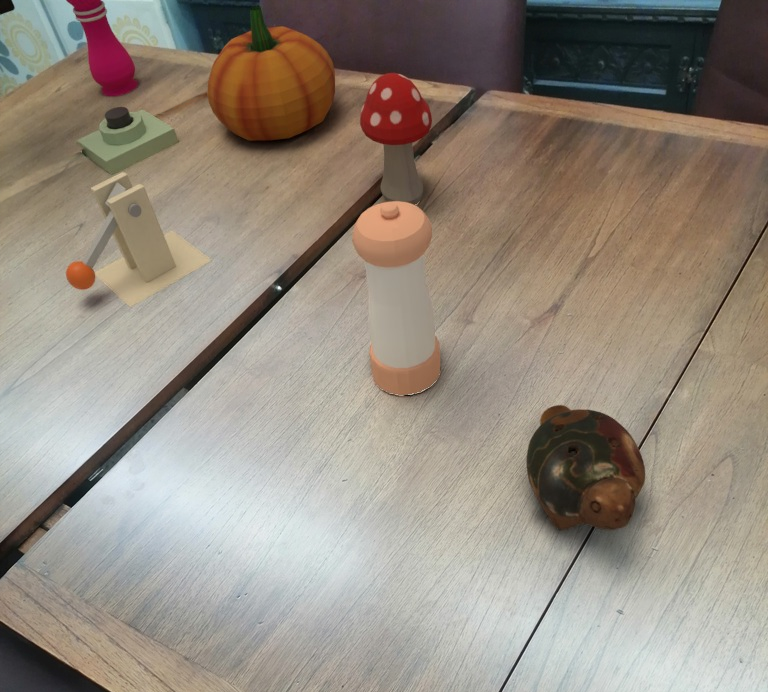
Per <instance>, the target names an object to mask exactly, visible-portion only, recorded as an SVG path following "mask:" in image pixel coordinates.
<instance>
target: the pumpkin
mask: <svg viewBox="0 0 768 692" xmlns="http://www.w3.org/2000/svg"><path fill="white" fill-rule="evenodd" d="M249 15H250V17H249V18H250V30H249V31H246V32H245V33H242V34H240V35H237V36H235V37H233V38H231V39H230V40H229V41H228V42H227V43H226V44H225V45H224V47H223V48H222V50H221V51H220V52H219V54H218V55H217V57H216V58H215V60H214V61H213V64H212V67H211V69H210V72H209V73H210V74H209V76H208V80H207V90H206V91H207V92H206V94H207V99H208V100H207V101H208V104H209V106H210V108H211V111H212V113H213V115H214V116H215V117H216V118H217V120H218V121H219V122H220V123H221V124H223V125H224V127H226V128H227V129H228V130H229V131H230V132H231V133H233V134H234V135H236V136H238V137H241V138H242V139H244V140H247V141H250V142H251V141H274V140H284V139H290V138H293V137H295V136H298V135H301V134H302V133H304V132H306V131H309V130H310V129H312V128H314V127H315V126H317V125H319V124H321V123H322V122H324V120H325V118H326V116H327V115H328V112H329V110H330V108H331V107H332V104H333V102H334V99H335V95H336V70H335V67H334V63H333V60H332V58H331V56H330V54H329V53H328V51H327V50H326V49H325V48H324V47H323V46H322V45H321V43H319V42H317V41H316V40H314V39H313V38H311V36H308V35H306V34H304V33H302V32H300V31H297V30H295V29H292V28H289V27H286V26H285V25H284V26H283V25H280V26H272V27H268V26H267V24H266V23H265V19H264V15H263V11H262V7H261V6H260V5H254V6H252V7H250V8H249Z"/></svg>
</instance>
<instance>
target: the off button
mask: <svg viewBox="0 0 768 692" xmlns="http://www.w3.org/2000/svg"><path fill="white" fill-rule="evenodd" d="M129 112H130V110H129V108H127V107H125V106H117V107H113V108H111V109H109V110H106V112H105V113H104V119H105V118H106V121H107V123H108V125H109V128H110V129H121V128H125V127H127V126H129V125H130V124H131V123H132V119H131V116H130V114H129Z"/></svg>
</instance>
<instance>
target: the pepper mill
mask: <svg viewBox="0 0 768 692" xmlns="http://www.w3.org/2000/svg"><path fill="white" fill-rule="evenodd" d="M65 1H66V2H67V3H68V4H69V5H71V6H72V7H73V8H72V12H73V14H74V16H75V20H77V21H78V22H80V23H79V24H80V25H81V27H82V29H83V32H84V35H85V38H86V44H87V58H88V61H87V62H88V67H89V71H90V74H91V77H92V79H93V81H94V82H96V83H97V84H98V85H99V86H101V87H102V88H101V93H102V95H104V96H107V97H119V96H123V95H126V94H128V93H130V92H132V91H133V90H135V89H136V88H137V87H138V84H139V82H138V80H137V79H135V78H134V77H135V73H136V66H135V62H134V61H133V58H132V57H131V55H130V54H129V52H128V51H127V49H126V48H125V47H124V45H123V44H122V43H121V42H120V40H119V39H118V38H117V36H116V35H115V33H114V32H113V29H112V28H111V27H112V26H111V25H110V23H109V20H108V16H107V13H108V9H107V8H106V6H105V5H106V4H105V2H104V1H103V0H65Z"/></svg>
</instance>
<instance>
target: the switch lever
mask: <svg viewBox="0 0 768 692" xmlns="http://www.w3.org/2000/svg"><path fill="white" fill-rule="evenodd" d="M126 190H127V189H126V188H125V187H123V186H122V185H120V184H119V183H116V185H115V187H114V188H113V190H112V192H111V194H110V195H109V197H108V199H107V200H109V199H111V198H113V197H115V196H117V195H119V194H120V193H122V192H124V191H126ZM107 200H106V202H105V204H106V205H107V206H109V205H108V203H107ZM117 226H118V224H117V222H116V220H115V218H114V216H113V213H112V211H110V213H109V214H108V216H107V218H106V220H105V219H104V221H103V223H102V225H101V227H100V228H99V230H98V232H97V233H96V235H95V236H94V239H93V240H92V242H91V244H90V246H89V247H88V249H87V251H86V252H85V255H84V256H83V258H82V259H81V260H76V261H73V262H71V263H70V264H69V265H68V266H67V268H66V270H65V277H66V280H67V282H68V283H69V285H71V286H72V287H73V288H75V289H76V290H81V291H82V290H88V289H90V288H92V287H93V286H94V284H95V282H96V276H95V272H96V271H94V267H95V266H96V263H97V262H98V260H99V258H100V256H101V255H102V253H103V251H104V250H105V248H106V247H107V244H108V243H109V241H110V239H111V237H113V232H114V231H115V229H116V227H117Z"/></svg>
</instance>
